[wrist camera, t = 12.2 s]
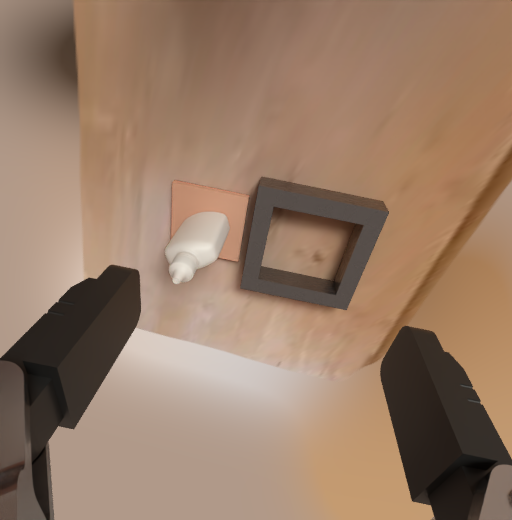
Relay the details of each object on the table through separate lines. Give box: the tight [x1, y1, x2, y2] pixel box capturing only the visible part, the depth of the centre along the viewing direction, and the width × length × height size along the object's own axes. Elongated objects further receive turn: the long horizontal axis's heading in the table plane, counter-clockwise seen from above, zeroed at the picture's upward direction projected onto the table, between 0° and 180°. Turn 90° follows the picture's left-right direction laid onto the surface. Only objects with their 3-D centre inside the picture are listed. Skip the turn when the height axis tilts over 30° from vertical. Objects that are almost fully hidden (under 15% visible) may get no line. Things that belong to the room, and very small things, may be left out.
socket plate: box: [240, 177, 389, 310], centre depth 39 cm, size 14×14×3 cm
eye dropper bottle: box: [165, 212, 230, 284], centre depth 34 cm, size 4×6×12 cm
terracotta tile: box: [171, 180, 250, 262], centre depth 40 cm, size 9×9×1 cm
